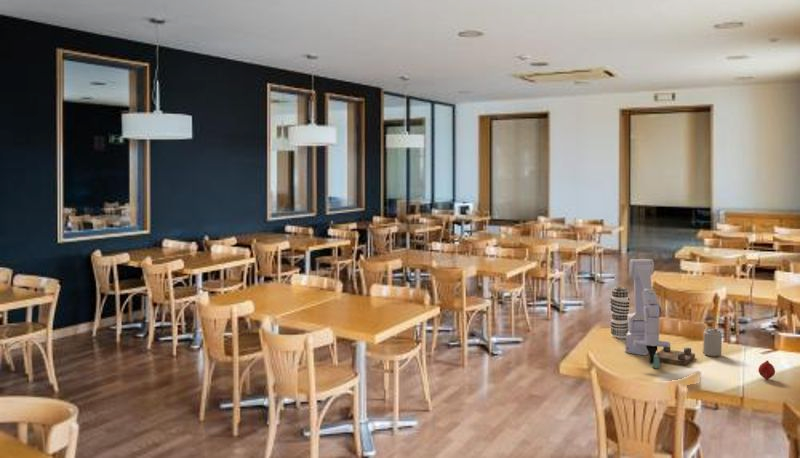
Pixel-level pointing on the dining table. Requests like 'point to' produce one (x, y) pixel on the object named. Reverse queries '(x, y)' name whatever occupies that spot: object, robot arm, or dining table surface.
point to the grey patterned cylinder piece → (619, 312)
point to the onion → (766, 370)
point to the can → (712, 342)
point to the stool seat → (676, 356)
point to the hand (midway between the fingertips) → (651, 362)
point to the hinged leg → (655, 361)
